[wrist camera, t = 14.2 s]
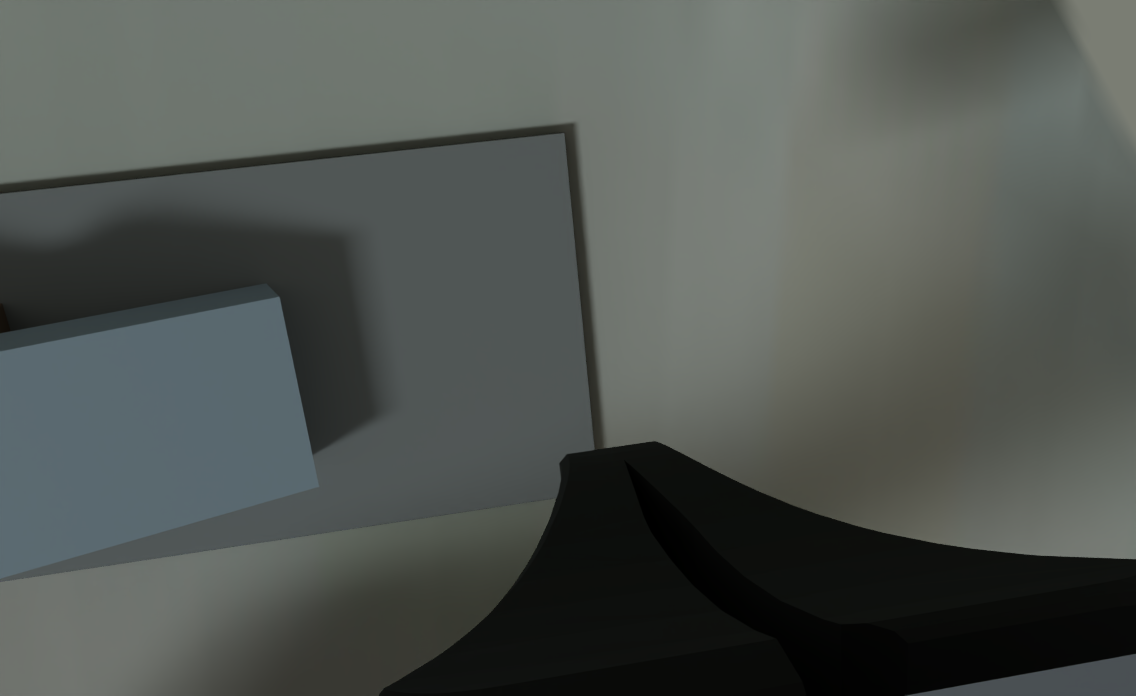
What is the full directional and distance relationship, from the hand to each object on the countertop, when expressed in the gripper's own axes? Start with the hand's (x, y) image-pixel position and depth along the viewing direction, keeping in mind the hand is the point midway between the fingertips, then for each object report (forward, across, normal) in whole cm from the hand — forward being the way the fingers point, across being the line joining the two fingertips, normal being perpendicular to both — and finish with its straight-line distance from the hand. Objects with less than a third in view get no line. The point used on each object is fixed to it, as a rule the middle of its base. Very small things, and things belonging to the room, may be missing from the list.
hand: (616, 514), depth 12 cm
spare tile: (+9, +6, 0) cm, 11 cm away
